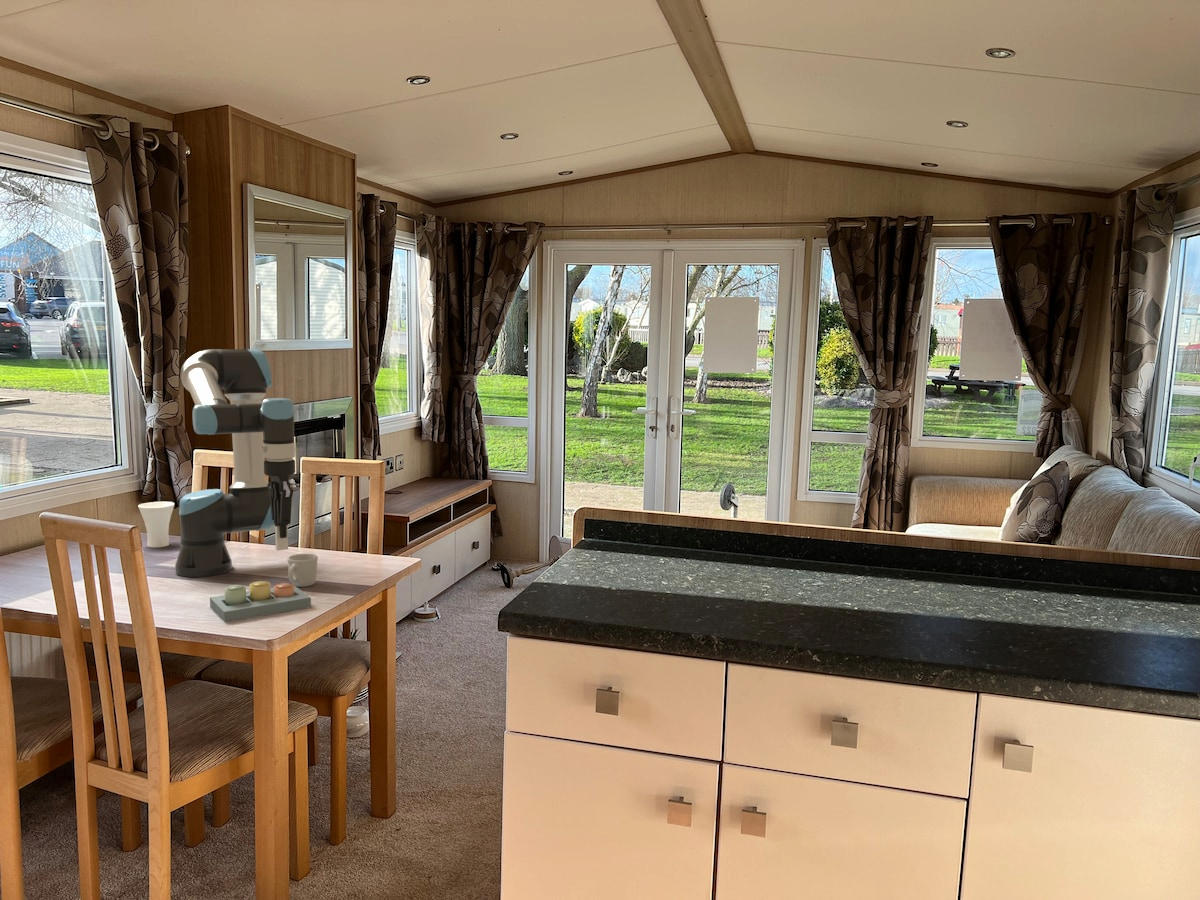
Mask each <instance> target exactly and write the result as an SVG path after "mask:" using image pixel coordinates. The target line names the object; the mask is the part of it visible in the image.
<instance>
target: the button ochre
mask: <svg viewBox="0 0 1200 900" xmlns="http://www.w3.org/2000/svg"><path fill="white" fill-rule="evenodd" d="M271 588H272V587H271V583H270V582H269V581H265V580H262V581H261V580H260V581H259V580H258V581H254V582H251V583H250V584H249V591H250V601H253V602H256V601H262V600H268V599H271Z"/></svg>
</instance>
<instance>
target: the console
mask: <svg viewBox="0 0 1200 900" xmlns="http://www.w3.org/2000/svg"><path fill="white" fill-rule="evenodd" d="M246 600H247V602H246V603H243V604H237V605H231V606H227V605H225V594H223V595H217V596H210V597H209V605H210V607H209V608H210V609H211V610H212V611H213V612H214V613H215V614H216V615H217V616H218V617H219V618H220V619H221V620H222V622H224V623H227V622H234V621H239V620H245V619H251V618H258V617H263V616H268V615H274V614H279V613H281V614H282V613H286V612H291V611H297V610H303V609H309V608H312V605H311V604H312V601H311V597H310V595H308V594H307V593H305V592H304V591H302V590H301V589H300V588H299V587H296V586H294V595H292V596H286V597H280V598H276V597H275V596H274V586H273V587H271V599H268V600H262V601H256V602H253V601H250V590H249V591H247V590H246Z"/></svg>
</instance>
